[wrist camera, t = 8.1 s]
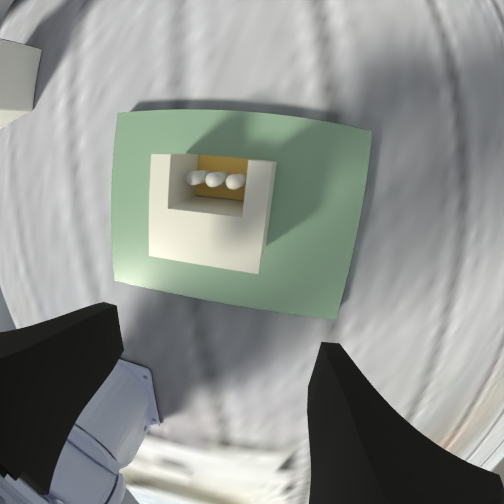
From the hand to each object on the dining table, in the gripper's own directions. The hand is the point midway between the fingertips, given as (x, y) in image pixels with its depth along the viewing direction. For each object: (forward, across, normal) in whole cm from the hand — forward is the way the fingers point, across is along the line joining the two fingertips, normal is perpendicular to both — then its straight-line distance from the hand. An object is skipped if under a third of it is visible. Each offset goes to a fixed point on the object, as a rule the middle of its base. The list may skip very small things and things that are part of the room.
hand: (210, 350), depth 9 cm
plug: (+8, +2, -4) cm, 9 cm away
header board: (+10, +2, -3) cm, 10 cm away
